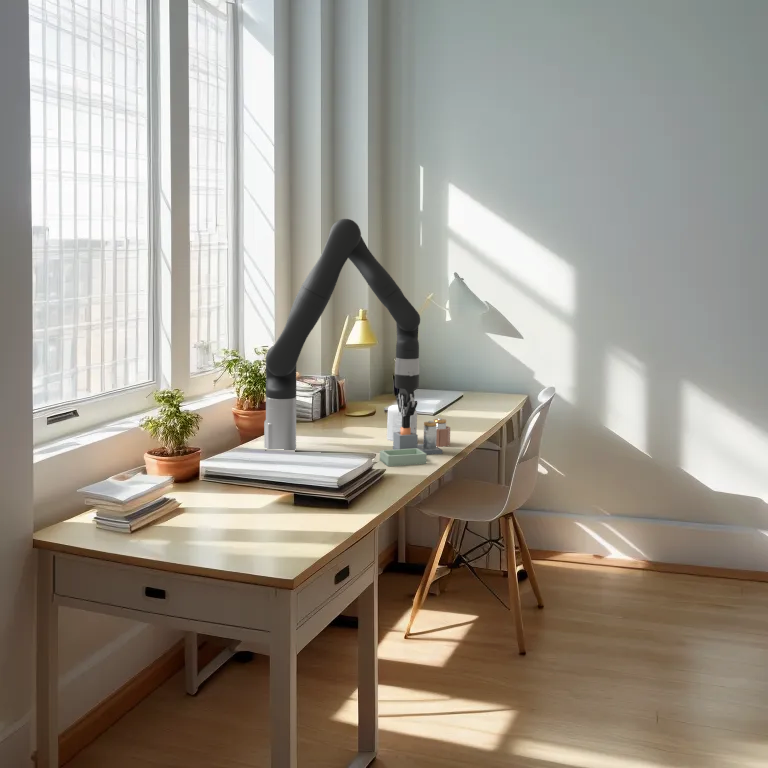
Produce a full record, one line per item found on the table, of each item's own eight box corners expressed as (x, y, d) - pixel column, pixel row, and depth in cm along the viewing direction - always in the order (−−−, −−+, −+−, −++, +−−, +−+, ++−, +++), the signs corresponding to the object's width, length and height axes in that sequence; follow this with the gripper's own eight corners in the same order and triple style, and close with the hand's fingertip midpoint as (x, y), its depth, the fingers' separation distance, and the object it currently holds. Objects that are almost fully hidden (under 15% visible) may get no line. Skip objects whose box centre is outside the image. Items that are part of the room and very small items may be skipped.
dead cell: (435, 446, 283) (436, 419, 281) (431, 443, 286) (431, 417, 285) (447, 445, 284) (448, 419, 283) (442, 442, 288) (443, 417, 286)
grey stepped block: (402, 457, 268) (403, 438, 268) (392, 450, 277) (393, 431, 276) (442, 454, 273) (442, 435, 272) (431, 448, 281) (431, 429, 280)
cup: (433, 448, 281) (434, 429, 280) (426, 443, 287) (426, 425, 286) (452, 447, 283) (452, 428, 282) (444, 442, 289) (445, 424, 288)
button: (402, 444, 273) (402, 429, 272) (398, 442, 276) (399, 426, 275) (411, 444, 274) (412, 428, 273) (408, 442, 277) (408, 426, 276)
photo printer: (418, 443, 288) (419, 405, 286) (411, 445, 285) (412, 407, 283) (391, 438, 294) (392, 402, 292) (384, 440, 290) (385, 403, 289)
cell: (426, 449, 272) (426, 422, 270) (421, 447, 276) (422, 420, 274) (438, 449, 273) (438, 422, 272) (433, 446, 277) (434, 419, 275)
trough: (388, 466, 257) (388, 456, 257) (379, 460, 264) (379, 450, 264) (426, 463, 261) (426, 453, 261) (417, 457, 268) (417, 448, 268)
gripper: (388, 369, 276) (387, 424, 279) (403, 376, 264) (401, 432, 266) (410, 369, 279) (409, 423, 281) (426, 375, 266) (425, 431, 269)
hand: (405, 427), depth 274 cm, fingers closed
